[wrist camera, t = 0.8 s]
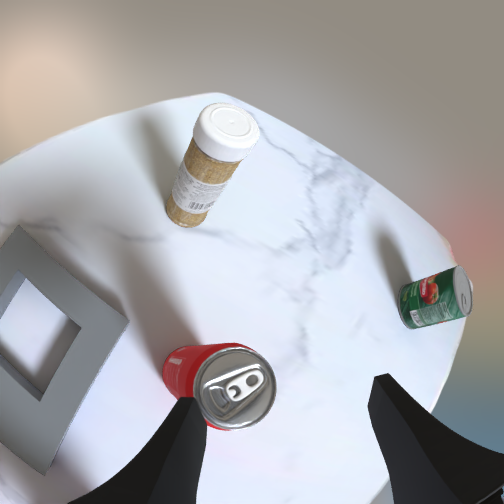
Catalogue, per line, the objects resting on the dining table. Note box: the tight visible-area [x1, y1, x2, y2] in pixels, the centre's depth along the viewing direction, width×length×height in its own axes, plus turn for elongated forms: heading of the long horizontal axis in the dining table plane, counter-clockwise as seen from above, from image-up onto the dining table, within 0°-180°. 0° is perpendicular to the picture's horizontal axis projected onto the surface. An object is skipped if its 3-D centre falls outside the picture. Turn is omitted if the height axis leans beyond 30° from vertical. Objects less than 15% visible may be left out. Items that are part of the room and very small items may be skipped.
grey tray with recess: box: [0, 225, 130, 476], centre depth 15 cm, size 18×15×2 cm
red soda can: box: [163, 343, 276, 431], centre depth 18 cm, size 5×5×12 cm
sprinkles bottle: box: [166, 103, 259, 227], centre depth 23 cm, size 5×5×14 cm
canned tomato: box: [398, 265, 473, 329], centre depth 36 cm, size 8×8×11 cm
